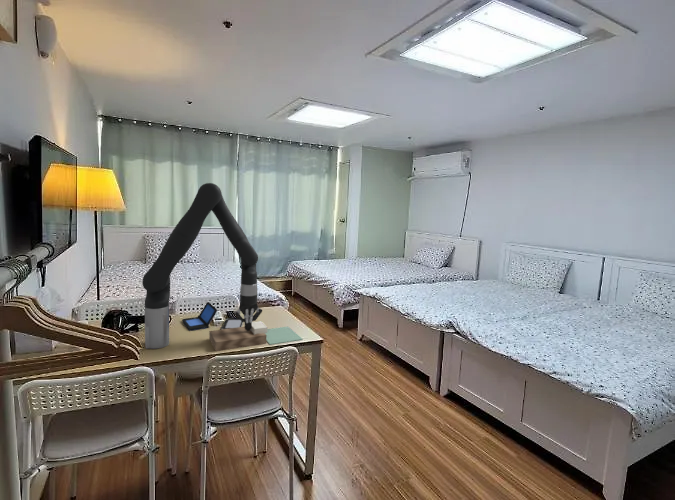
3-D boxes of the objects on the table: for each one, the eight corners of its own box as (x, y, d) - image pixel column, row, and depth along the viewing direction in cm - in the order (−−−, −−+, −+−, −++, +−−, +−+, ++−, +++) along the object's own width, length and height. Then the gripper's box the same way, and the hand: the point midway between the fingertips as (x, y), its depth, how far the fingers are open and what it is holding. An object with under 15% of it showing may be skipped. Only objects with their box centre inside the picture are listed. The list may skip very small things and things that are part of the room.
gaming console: (226, 321, 192) (226, 316, 192) (244, 321, 193) (244, 316, 193) (220, 335, 173) (220, 329, 173) (240, 334, 174) (240, 329, 174)
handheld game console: (181, 321, 187) (181, 304, 186) (207, 318, 195) (208, 301, 193) (189, 331, 174) (189, 313, 173) (217, 327, 182) (217, 309, 181)
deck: (215, 351, 154) (216, 342, 153) (209, 339, 166) (209, 330, 165) (266, 343, 165) (266, 335, 164) (256, 332, 177) (256, 324, 176)
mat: (269, 344, 164) (269, 344, 164) (257, 331, 179) (257, 330, 179) (302, 339, 172) (302, 338, 172) (288, 327, 187) (288, 326, 187)
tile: (254, 334, 164) (254, 328, 164) (248, 327, 172) (248, 322, 172) (267, 332, 167) (267, 327, 167) (261, 326, 175) (261, 321, 175)
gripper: (236, 296, 158) (235, 334, 160) (265, 294, 165) (264, 330, 167) (231, 292, 164) (231, 329, 167) (260, 289, 171) (259, 325, 173)
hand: (248, 330), depth 167 cm, fingers closed
